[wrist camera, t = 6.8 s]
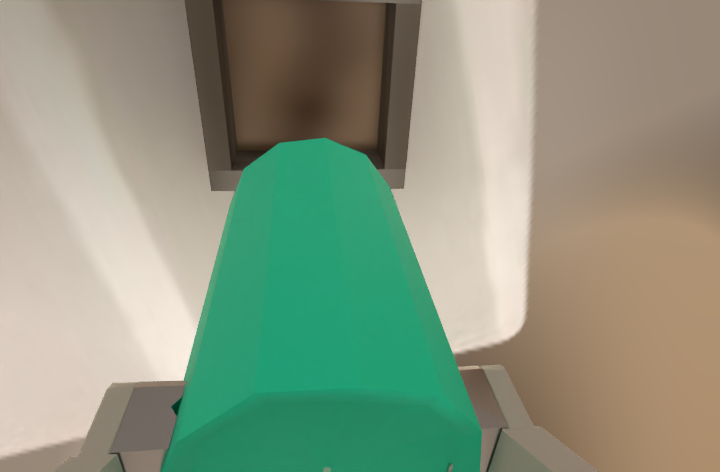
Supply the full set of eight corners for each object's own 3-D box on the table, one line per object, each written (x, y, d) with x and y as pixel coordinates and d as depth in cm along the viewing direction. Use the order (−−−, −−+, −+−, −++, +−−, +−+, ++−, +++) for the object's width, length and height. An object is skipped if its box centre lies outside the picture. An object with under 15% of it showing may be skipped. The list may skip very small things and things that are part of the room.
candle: (234, 125, 15) (106, 475, 5) (409, 149, 16) (588, 477, 6) (226, 273, 18) (137, 679, 8) (375, 285, 19) (459, 655, 9)
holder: (212, 171, 29) (201, 200, 26) (182, -53, 23) (162, -52, 20) (400, 170, 31) (412, 197, 27) (419, -42, 25) (438, -40, 21)
